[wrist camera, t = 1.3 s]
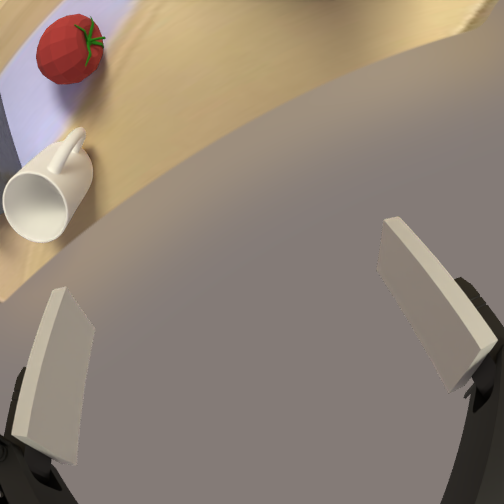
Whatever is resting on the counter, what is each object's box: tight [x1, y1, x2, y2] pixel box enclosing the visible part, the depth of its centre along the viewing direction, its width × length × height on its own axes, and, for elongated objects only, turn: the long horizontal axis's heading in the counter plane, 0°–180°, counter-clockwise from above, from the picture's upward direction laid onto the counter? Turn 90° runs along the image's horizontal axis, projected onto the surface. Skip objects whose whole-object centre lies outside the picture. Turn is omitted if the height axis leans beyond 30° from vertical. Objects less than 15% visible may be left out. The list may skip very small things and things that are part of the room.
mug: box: [3, 127, 93, 243], centre depth 29 cm, size 12×8×10 cm
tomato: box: [36, 14, 105, 84], centre depth 22 cm, size 8×8×8 cm
